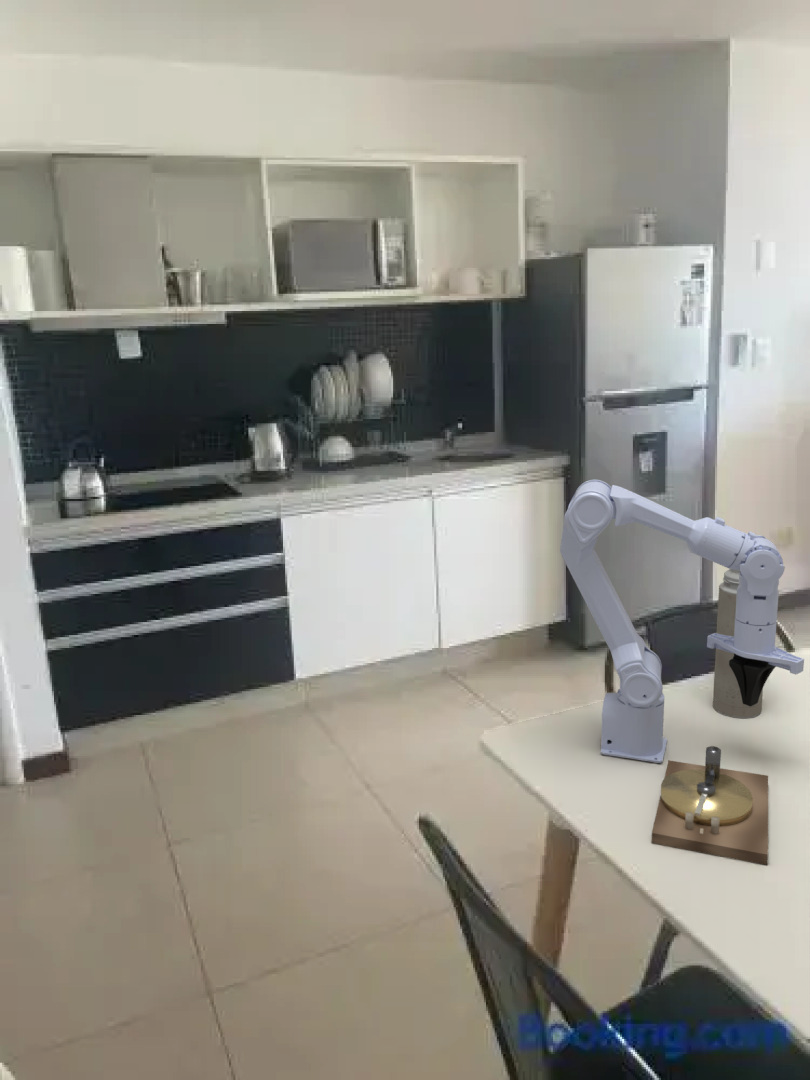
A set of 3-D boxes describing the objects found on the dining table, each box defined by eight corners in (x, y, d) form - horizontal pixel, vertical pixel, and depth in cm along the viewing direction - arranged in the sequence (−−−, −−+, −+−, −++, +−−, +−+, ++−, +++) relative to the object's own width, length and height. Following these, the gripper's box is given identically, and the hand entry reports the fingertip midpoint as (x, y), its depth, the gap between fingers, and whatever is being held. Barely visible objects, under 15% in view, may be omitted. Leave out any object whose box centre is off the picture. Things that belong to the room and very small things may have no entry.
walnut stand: (651, 842, 110) (652, 819, 109) (668, 769, 128) (668, 748, 127) (767, 865, 105) (768, 840, 104) (767, 784, 123) (769, 763, 122)
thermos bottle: (750, 697, 151) (760, 547, 144) (768, 717, 143) (780, 560, 136) (706, 699, 151) (714, 549, 144) (721, 719, 143) (730, 562, 136)
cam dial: (650, 814, 114) (652, 778, 112) (670, 771, 124) (671, 738, 123) (745, 836, 108) (747, 799, 107) (757, 789, 119) (759, 755, 117)
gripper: (817, 625, 121) (810, 711, 124) (727, 601, 132) (722, 681, 136) (791, 637, 117) (785, 725, 120) (700, 612, 128) (696, 693, 132)
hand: (750, 703), depth 128 cm, fingers closed
